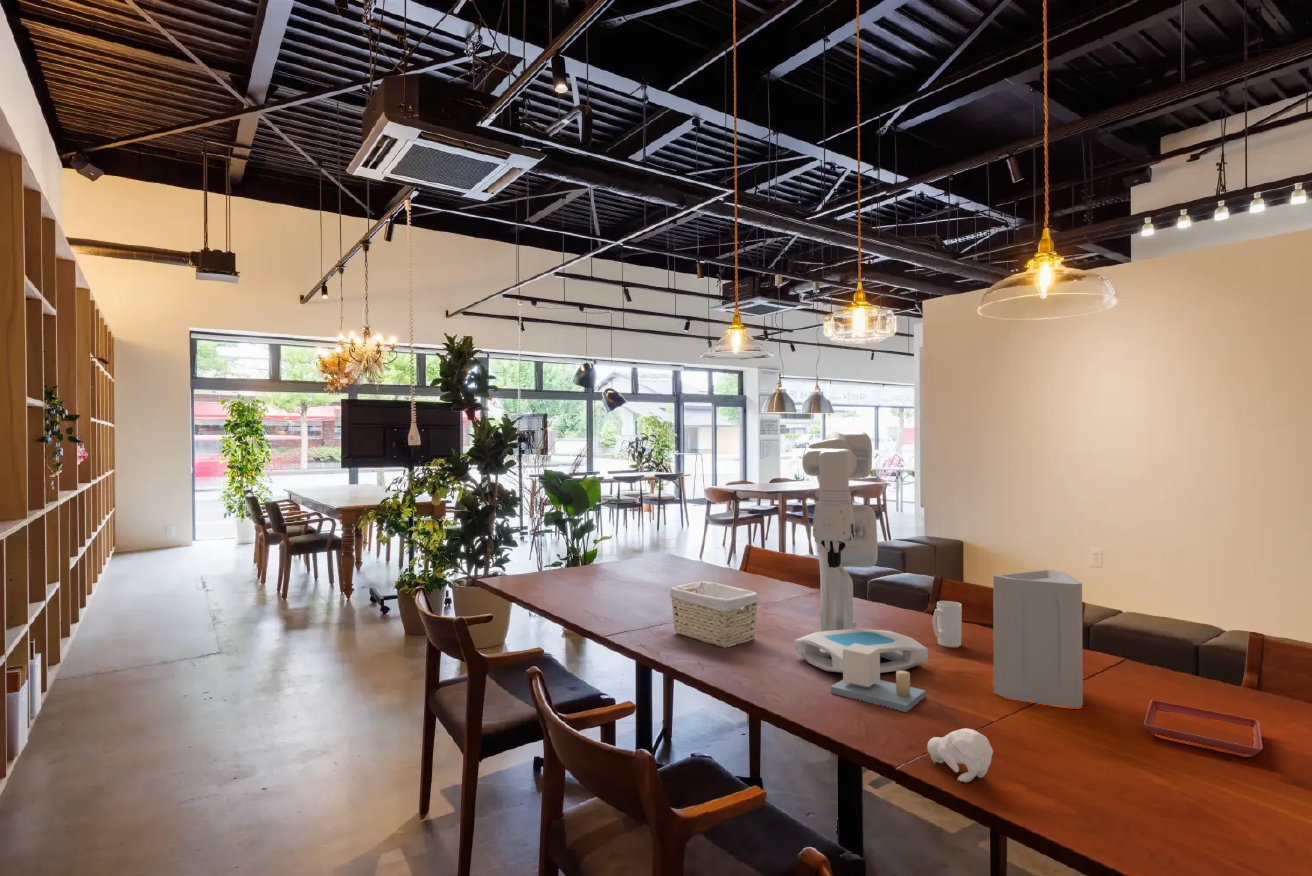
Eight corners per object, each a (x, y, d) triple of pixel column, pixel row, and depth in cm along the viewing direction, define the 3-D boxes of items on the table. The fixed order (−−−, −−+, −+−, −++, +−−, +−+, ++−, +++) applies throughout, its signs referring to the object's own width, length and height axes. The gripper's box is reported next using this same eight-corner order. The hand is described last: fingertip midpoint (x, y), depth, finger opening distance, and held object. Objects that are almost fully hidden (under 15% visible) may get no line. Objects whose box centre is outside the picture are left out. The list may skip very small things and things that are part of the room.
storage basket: (761, 640, 206) (761, 591, 207) (725, 651, 195) (725, 599, 196) (703, 624, 224) (703, 579, 224) (667, 634, 213) (667, 586, 213)
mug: (948, 640, 206) (948, 600, 206) (967, 646, 200) (966, 604, 200) (923, 644, 201) (923, 603, 202) (942, 650, 195) (942, 608, 195)
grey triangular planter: (1049, 716, 149) (1048, 587, 149) (992, 693, 162) (991, 575, 163) (1107, 703, 156) (1106, 580, 156) (1048, 682, 170) (1047, 569, 170)
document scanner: (929, 667, 179) (929, 643, 180) (841, 678, 169) (840, 653, 169) (876, 647, 199) (876, 625, 199) (793, 656, 189) (793, 633, 189)
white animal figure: (970, 738, 118) (915, 720, 128) (974, 790, 117) (919, 767, 127) (995, 731, 120) (939, 714, 131) (999, 781, 120) (943, 760, 130)
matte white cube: (854, 674, 168) (854, 643, 169) (879, 679, 164) (879, 648, 164) (843, 681, 164) (843, 649, 164) (868, 687, 159) (868, 654, 159)
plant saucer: (1150, 712, 151) (1150, 697, 151) (1259, 735, 140) (1259, 718, 140) (1143, 740, 137) (1143, 723, 137) (1263, 767, 126) (1263, 749, 126)
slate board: (852, 679, 172) (852, 653, 172) (925, 696, 160) (925, 669, 160) (831, 692, 163) (830, 665, 163) (906, 712, 151) (906, 682, 151)
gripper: (801, 496, 181) (801, 565, 181) (854, 499, 172) (855, 572, 172) (814, 494, 187) (815, 561, 187) (867, 497, 177) (867, 568, 177)
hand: (834, 566), depth 179 cm, fingers closed
